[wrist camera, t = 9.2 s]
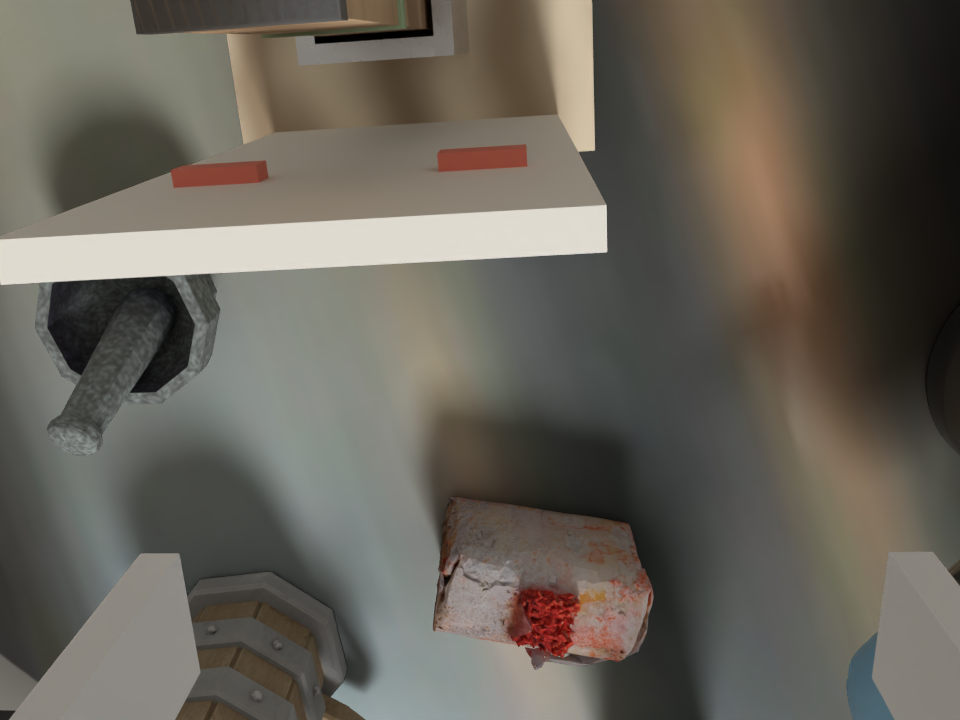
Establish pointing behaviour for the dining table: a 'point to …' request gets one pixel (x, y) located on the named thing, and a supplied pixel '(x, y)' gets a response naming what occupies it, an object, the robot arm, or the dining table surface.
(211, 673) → the tankard
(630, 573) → the food item
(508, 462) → the dining table surface
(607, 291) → the dining table surface
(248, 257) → the board
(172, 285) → the mortar and pestle
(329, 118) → the birch base plate
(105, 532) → the dining table surface
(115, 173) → the dining table surface
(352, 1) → the oak post
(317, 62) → the metal sleeve
